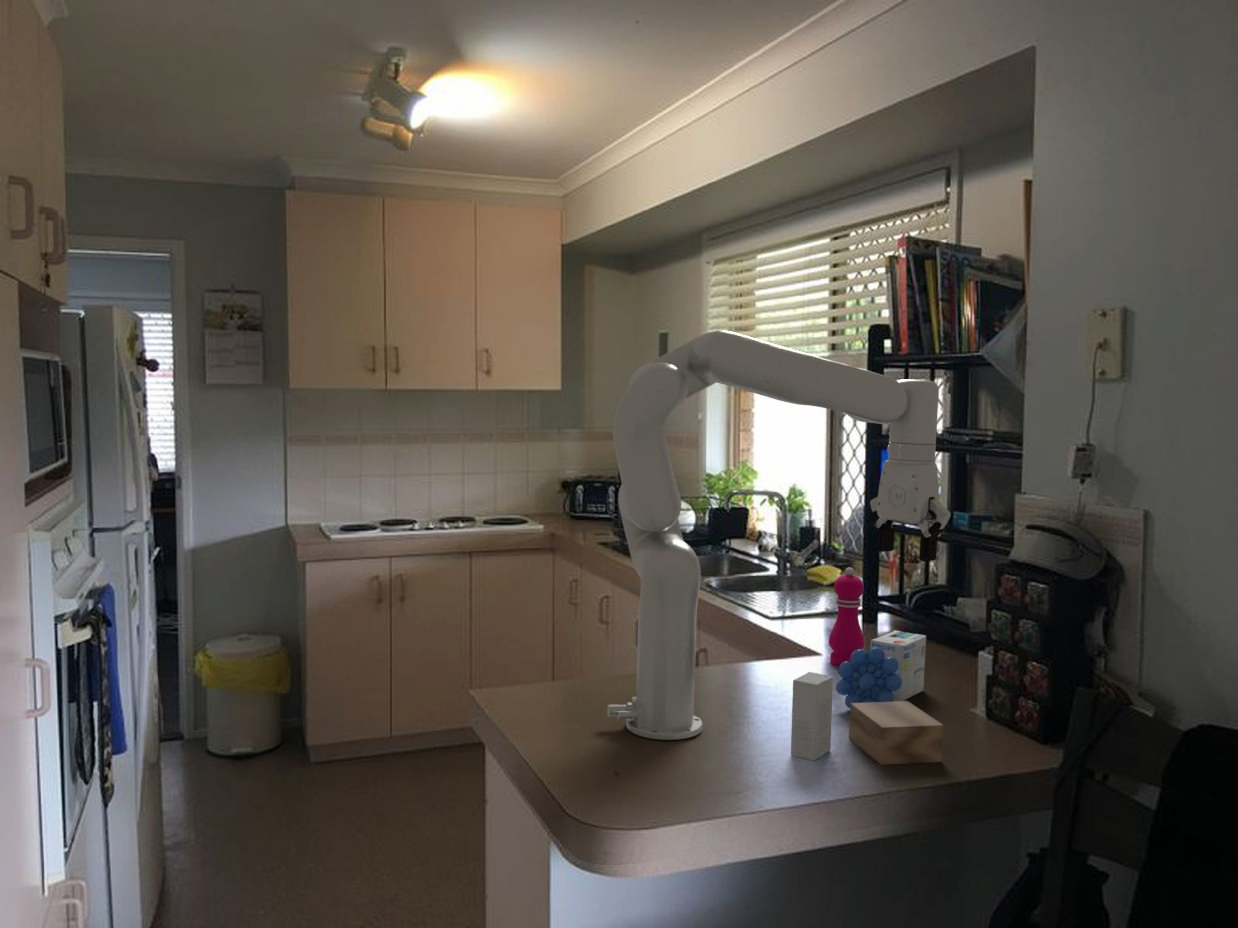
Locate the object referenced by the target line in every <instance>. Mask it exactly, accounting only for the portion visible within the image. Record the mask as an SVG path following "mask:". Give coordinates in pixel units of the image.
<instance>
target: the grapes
mask: <svg viewBox="0 0 1238 928" xmlns="http://www.w3.org/2000/svg"><path fill="white" fill-rule="evenodd" d="M884 657H885V653H884V651H883V650H882V649H881V648H878V647H875V648H872V649H871V650H869V651H868V652H867V651H866V650H864V649H858V650H855V651H854V652H853V653H852V654H851V662H848V661H846V662H843V663H842V664H841V665H840V666H838V671H837V672H838V675H839V676H840V677H841V678H840V679H839V680H838V681H837V682H836V686H835V690H836V692H837V693H838V694H839V695H840V696H845V697H844V704H845V706H846V707H847V709H850V703H867V702H894V694H893V693H892V691H896V690H898V689H899V688H900V687H901V686H902V678H901V677H900V675H897V674H893V673H895V672H896V671H897V670H898V665H899V663H898V661H897V660H896V658H893V657H888V658H886V659H884Z"/></svg>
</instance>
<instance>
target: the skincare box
mask: <svg viewBox="0 0 1238 928" xmlns="http://www.w3.org/2000/svg"><path fill="white" fill-rule="evenodd" d="M833 680H834V676H832V675H826V674H822V673H817V672H812V671H809V672H806V673H805V674H803V675H801V676H799V677H797V678H795V679H793V681H792V700H791V701H792V703H791V707H792V708H791V732H790V733H791V738H790V741H791V742H790V755H791V756H793V757H796V758H800V759H805V760H809V761H816V760H818V759H819V758H821V757H823V756H824V755H826V754H827V753H828V752H829V751H831V748H832V746H831V745H832V743H831V741H832V717H833V715H832V714H833V690H834V689H833V688H834V687H833V686H834V681H833Z"/></svg>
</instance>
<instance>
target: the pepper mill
mask: <svg viewBox="0 0 1238 928" xmlns="http://www.w3.org/2000/svg"><path fill="white" fill-rule="evenodd" d="M854 573H855V570H854V568H853V567H847V568H845V573H844V574H843V575H840V576H838V577H837V578H836V580H834V584H833V585H834V586H833V590H834V593H835V594H836V596H837V597H836V598H835V600H836V602H835V605H836V606H837V613H836V614H837V616H836V620H835V623H834V624H833V627H832V628H831V631H830V633H829V636H828V646H829V647H830V648H831V650H832V652H831V653H830V657H829V659H830V660H829V661H830V663H831V664H833V665H835V666H837V667H839V666H840V665H841V664H842V663H843V662H846V661H848V662H851V654H852V653H853V652H854V651H855V650H858V649H862V650H864V648H865V637H864V633H863V630H862V628H861V625H860V623H859V607H861V601H862V599H860V597H861V596H862V595H864V591H865V585H864V582H863V580H862V579H861V578H860V577H859V576H856V575H854Z"/></svg>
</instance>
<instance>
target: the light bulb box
mask: <svg viewBox="0 0 1238 928" xmlns="http://www.w3.org/2000/svg"><path fill="white" fill-rule="evenodd" d="M926 643H927V635H924V634H919V633H911V632H905V631H900V630H892V631H889V632H888V633H886V634H883V635H881V636H878V637H875V638H873V639H870V645H869V647H870V648H869V649H870V650H871V649H872V648H875V647H878V648H881V649H882V650H883V651H884V653H885V657H884V659H886V658H888V657H893V658H896V660H897V661H898V663H899V665H898V670H897V671H896V672H895V673H893V674H897V675H900V677H901V678H902V686H901V687H900V688H899V689H898V690H896V691H892V693H893V694H894V701H893V702H895V701H907V699H910V698H911V697H913V696H915V695H917V694H920V693H921V692H923V691H924V685H925V664H926ZM870 650H869V651H870Z"/></svg>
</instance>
